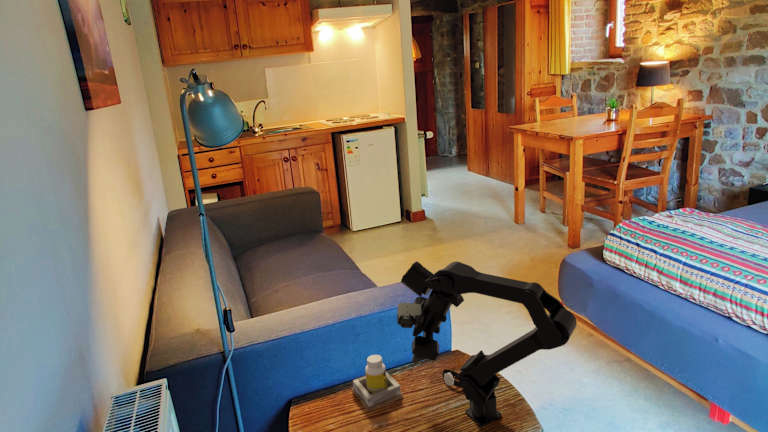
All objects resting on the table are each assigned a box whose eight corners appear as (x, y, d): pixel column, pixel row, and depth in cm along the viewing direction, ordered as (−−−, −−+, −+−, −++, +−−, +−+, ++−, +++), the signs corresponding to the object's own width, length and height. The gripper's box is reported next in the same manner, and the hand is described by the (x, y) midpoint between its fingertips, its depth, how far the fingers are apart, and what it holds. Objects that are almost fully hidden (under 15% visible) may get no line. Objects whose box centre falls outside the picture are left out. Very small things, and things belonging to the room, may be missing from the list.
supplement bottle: (389, 395, 129) (385, 362, 127) (368, 398, 129) (364, 365, 126) (386, 383, 134) (383, 351, 132) (366, 386, 134) (362, 354, 131)
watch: (438, 379, 136) (437, 368, 135) (451, 373, 139) (450, 361, 138) (457, 392, 130) (456, 380, 129) (470, 385, 132) (469, 373, 132)
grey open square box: (402, 397, 130) (401, 385, 129) (368, 411, 125) (367, 399, 125) (384, 378, 138) (383, 367, 137) (352, 391, 134) (351, 380, 133)
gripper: (406, 272, 127) (387, 314, 135) (404, 324, 111) (381, 368, 119) (447, 285, 128) (425, 326, 136) (450, 338, 112) (424, 381, 120)
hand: (413, 348), depth 128 cm, fingers open, 9 cm apart
